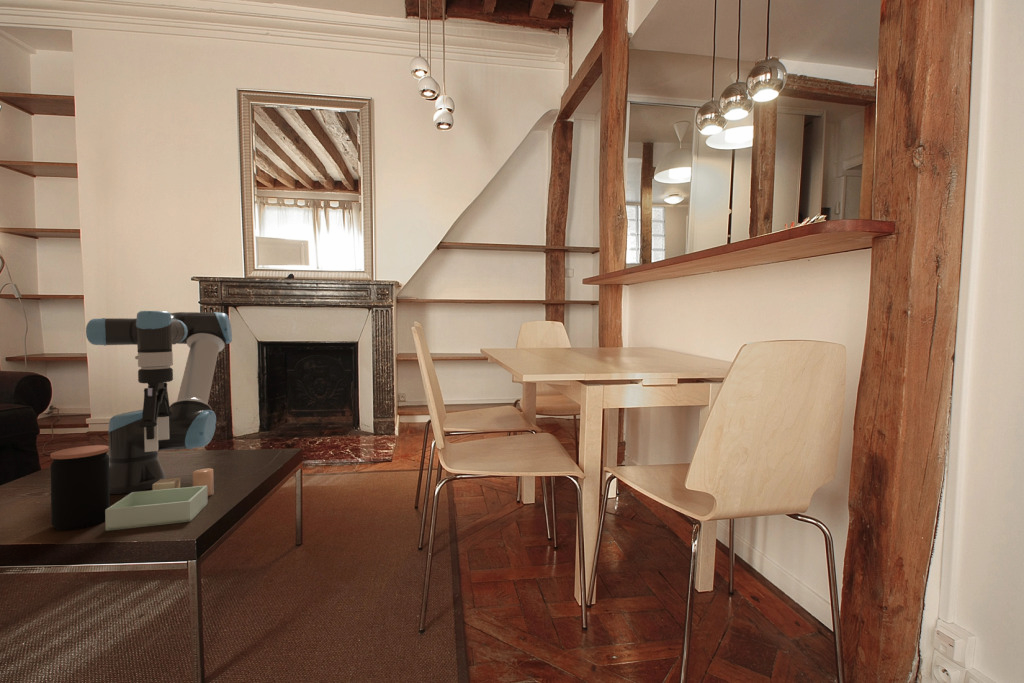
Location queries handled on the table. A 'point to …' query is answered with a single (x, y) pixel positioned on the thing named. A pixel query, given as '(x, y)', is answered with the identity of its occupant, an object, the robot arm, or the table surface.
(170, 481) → the beech cube
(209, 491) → the peach block
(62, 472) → the coffee jar
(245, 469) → the table surface
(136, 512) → the tray
